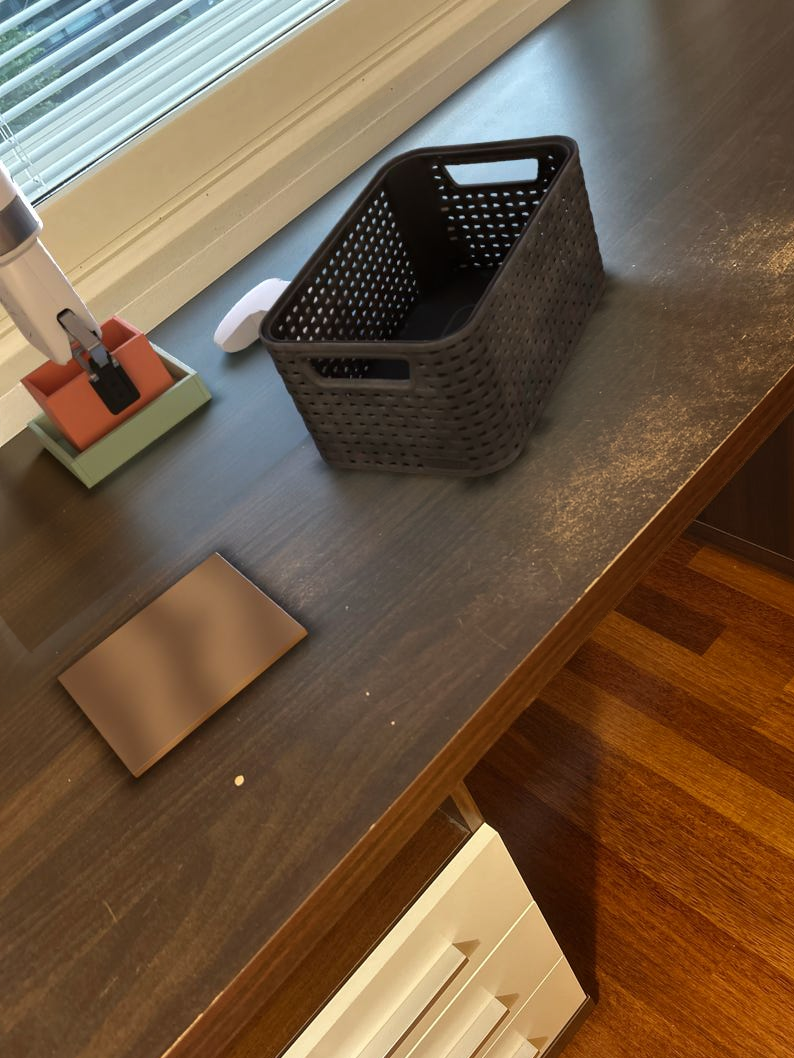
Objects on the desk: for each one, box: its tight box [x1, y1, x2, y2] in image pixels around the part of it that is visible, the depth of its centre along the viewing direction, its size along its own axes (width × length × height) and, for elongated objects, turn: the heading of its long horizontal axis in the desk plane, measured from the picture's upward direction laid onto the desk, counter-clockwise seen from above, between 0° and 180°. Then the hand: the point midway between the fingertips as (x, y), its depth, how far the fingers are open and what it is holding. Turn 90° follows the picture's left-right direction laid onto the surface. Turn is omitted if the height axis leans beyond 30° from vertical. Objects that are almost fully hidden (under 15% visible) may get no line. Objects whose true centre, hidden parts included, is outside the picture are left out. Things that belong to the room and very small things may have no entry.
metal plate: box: [57, 551, 309, 779], centre depth 79 cm, size 16×14×1 cm
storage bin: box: [258, 134, 608, 478], centre depth 87 cm, size 29×19×13 cm
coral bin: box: [19, 314, 176, 454], centre depth 98 cm, size 11×6×8 cm, turn 132°
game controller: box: [213, 277, 351, 361], centre depth 102 cm, size 14×4×10 cm
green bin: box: [26, 340, 213, 489], centre depth 100 cm, size 15×11×4 cm
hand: (105, 389), depth 98 cm, fingers open, 9 cm apart
